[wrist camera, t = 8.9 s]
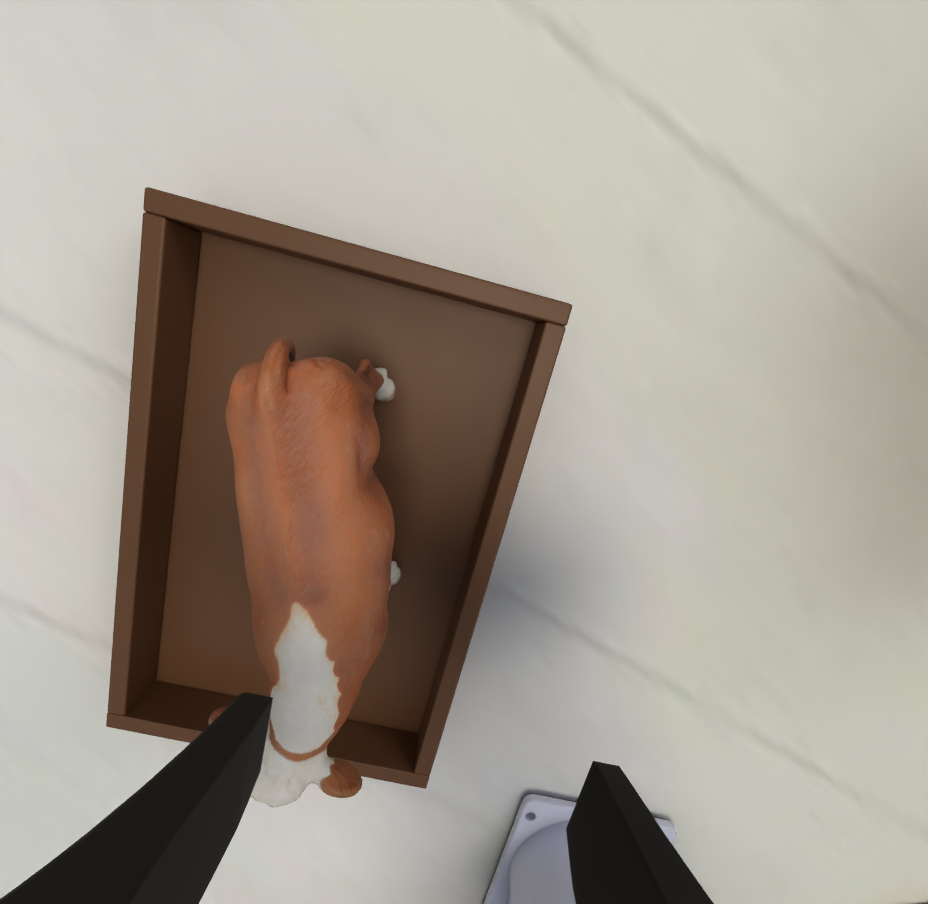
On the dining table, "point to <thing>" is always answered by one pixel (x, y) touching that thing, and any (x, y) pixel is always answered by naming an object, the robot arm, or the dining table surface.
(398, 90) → the dining table surface
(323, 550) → the bull figurine
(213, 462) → the walnut tray
